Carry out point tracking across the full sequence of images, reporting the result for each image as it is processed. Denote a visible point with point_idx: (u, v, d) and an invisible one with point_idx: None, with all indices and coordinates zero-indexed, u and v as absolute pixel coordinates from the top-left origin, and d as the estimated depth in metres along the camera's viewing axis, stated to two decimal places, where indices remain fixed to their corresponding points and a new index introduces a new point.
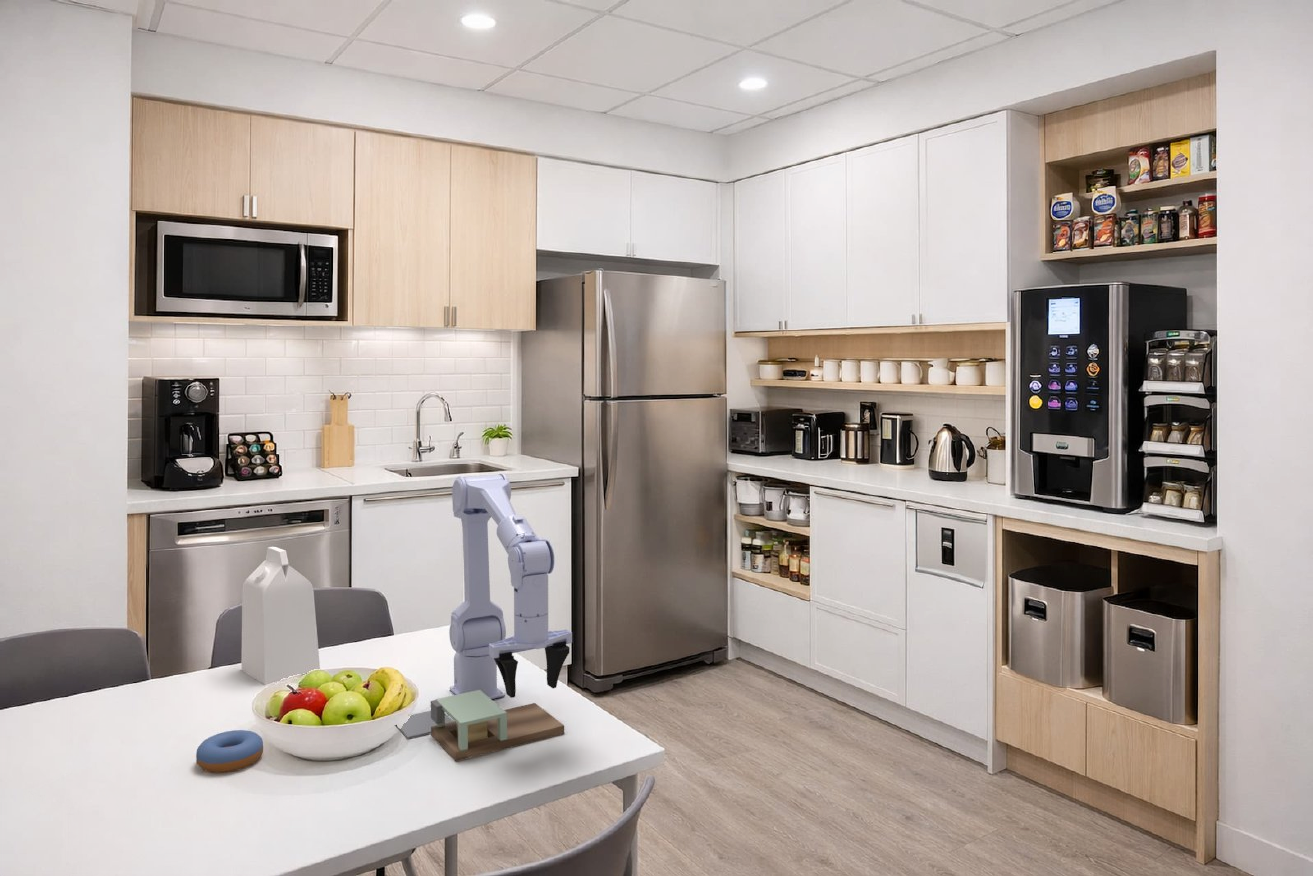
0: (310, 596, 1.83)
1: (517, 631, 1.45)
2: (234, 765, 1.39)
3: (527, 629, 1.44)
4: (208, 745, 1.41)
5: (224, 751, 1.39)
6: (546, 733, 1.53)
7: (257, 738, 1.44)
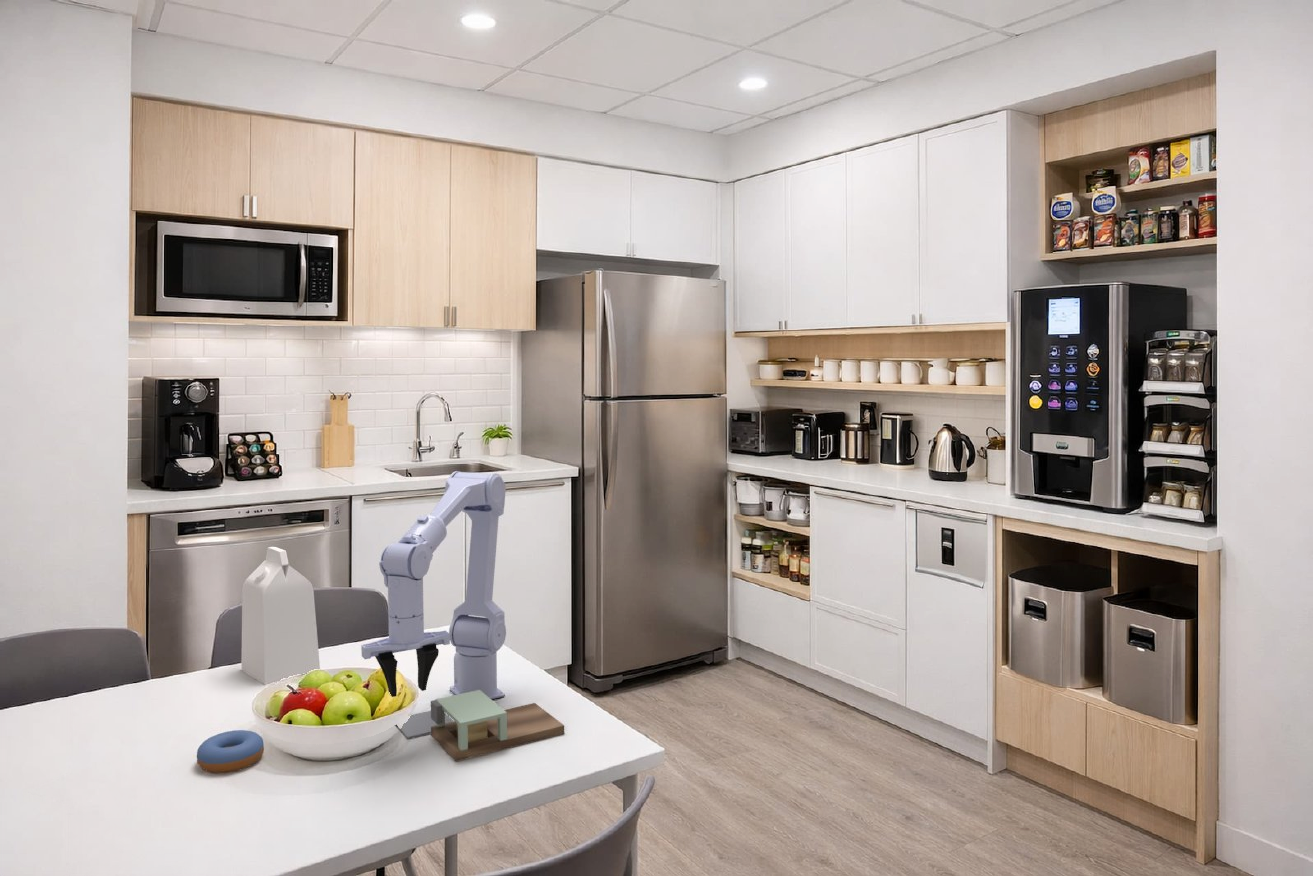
0: (310, 596, 1.83)
1: (390, 632, 1.46)
2: (235, 765, 1.39)
3: (400, 630, 1.45)
4: (209, 745, 1.41)
5: (225, 751, 1.39)
6: (546, 733, 1.53)
7: (258, 738, 1.44)
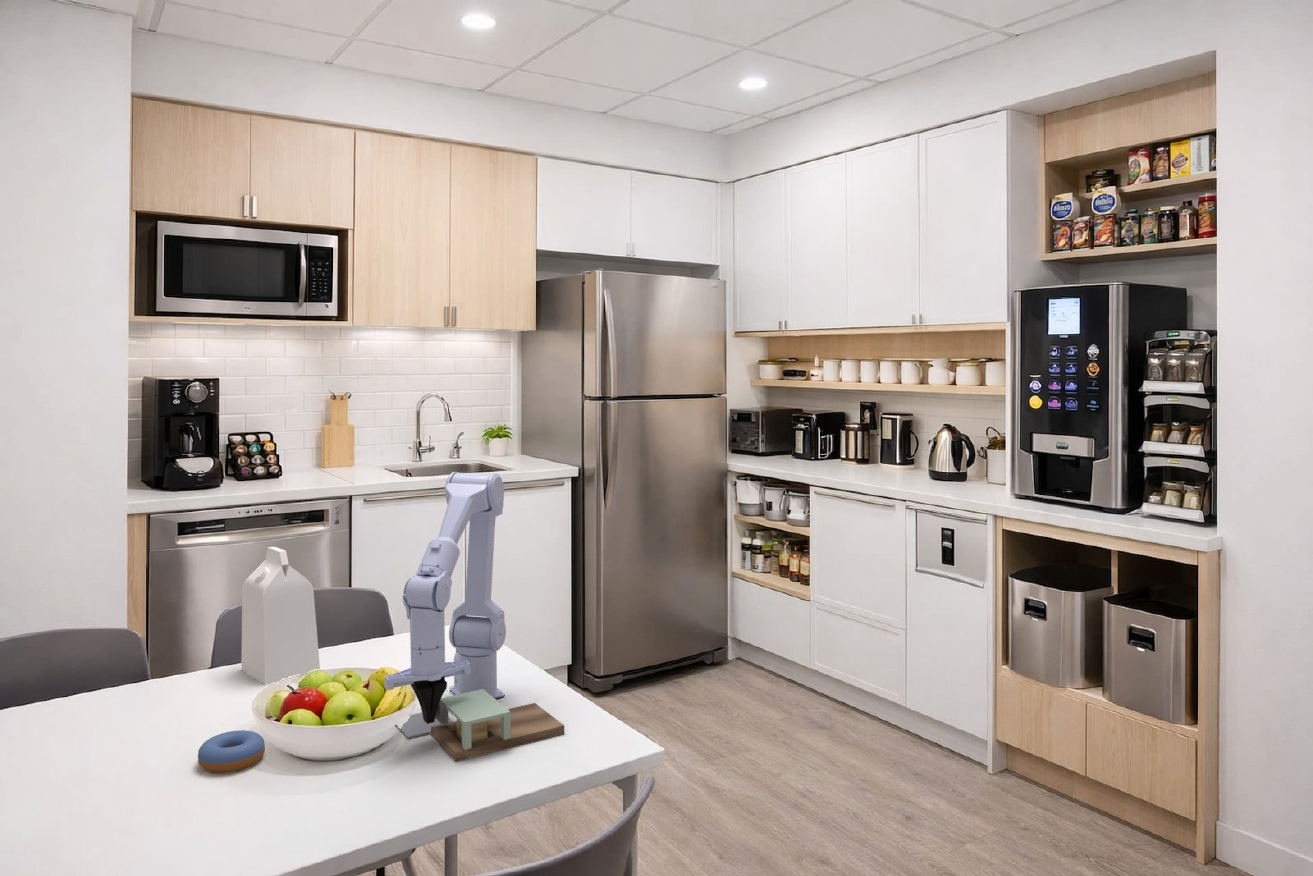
0: (310, 596, 1.83)
1: (413, 663, 1.49)
2: (236, 765, 1.39)
3: (422, 661, 1.48)
4: (210, 745, 1.41)
5: (226, 751, 1.39)
6: (546, 733, 1.53)
7: (259, 738, 1.44)
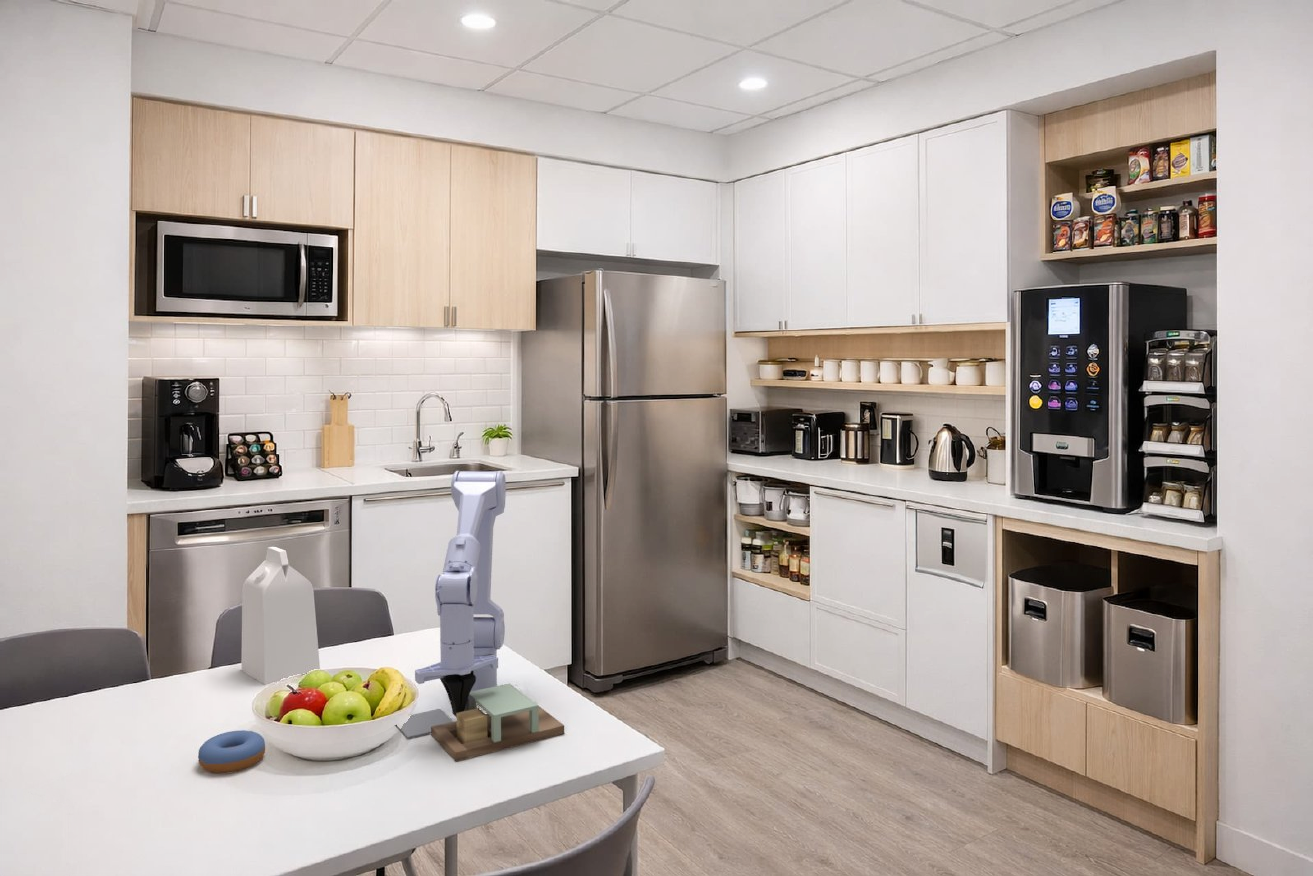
0: (310, 596, 1.83)
1: (443, 658, 1.52)
2: (236, 766, 1.39)
3: (452, 656, 1.51)
4: (210, 745, 1.41)
5: (226, 751, 1.39)
6: (546, 733, 1.53)
7: (259, 738, 1.44)
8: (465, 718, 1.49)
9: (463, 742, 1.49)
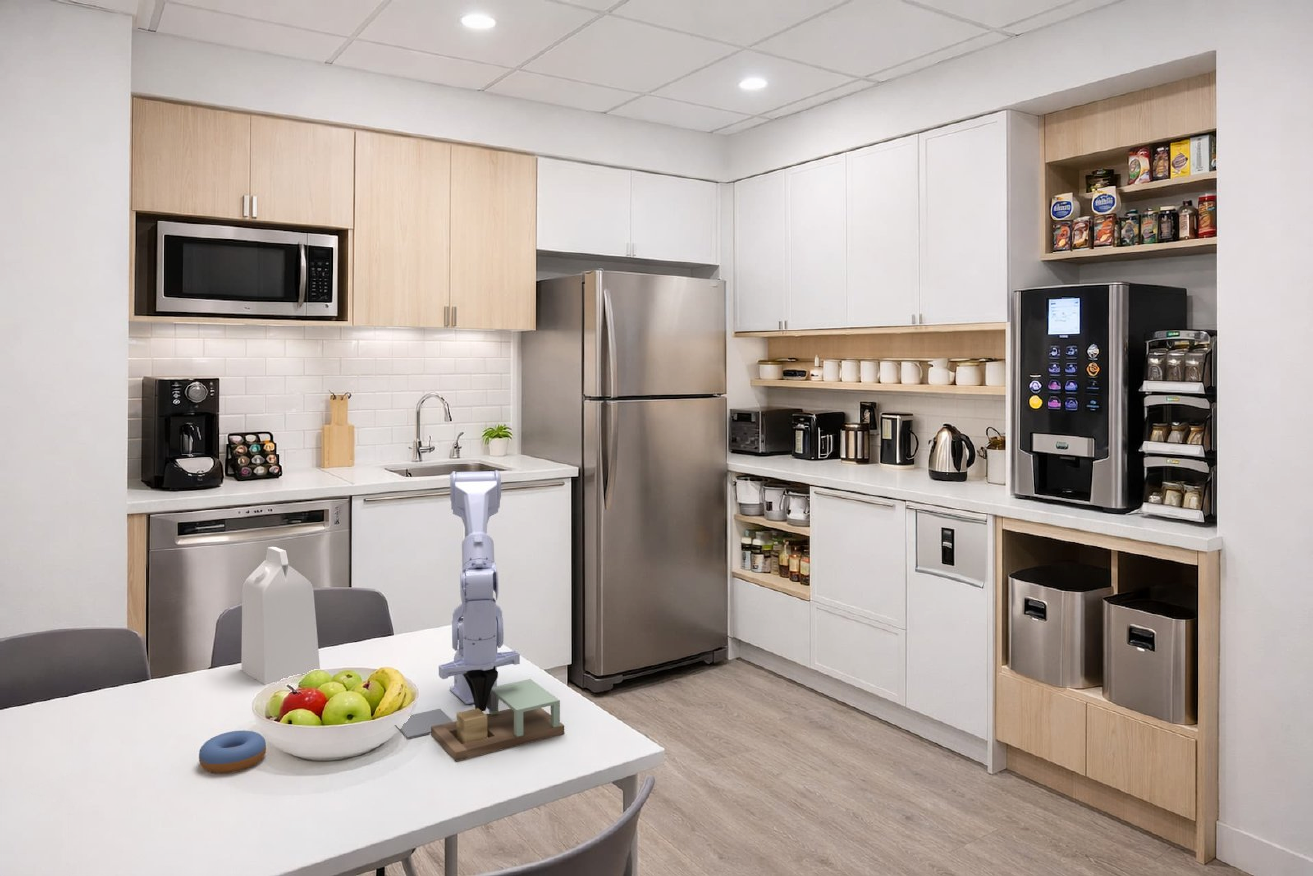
0: (310, 596, 1.83)
1: (466, 653, 1.54)
2: (237, 766, 1.39)
3: (475, 651, 1.53)
4: (211, 745, 1.41)
5: (227, 751, 1.39)
6: (546, 733, 1.53)
7: (260, 738, 1.44)
8: (465, 718, 1.49)
9: (463, 742, 1.49)
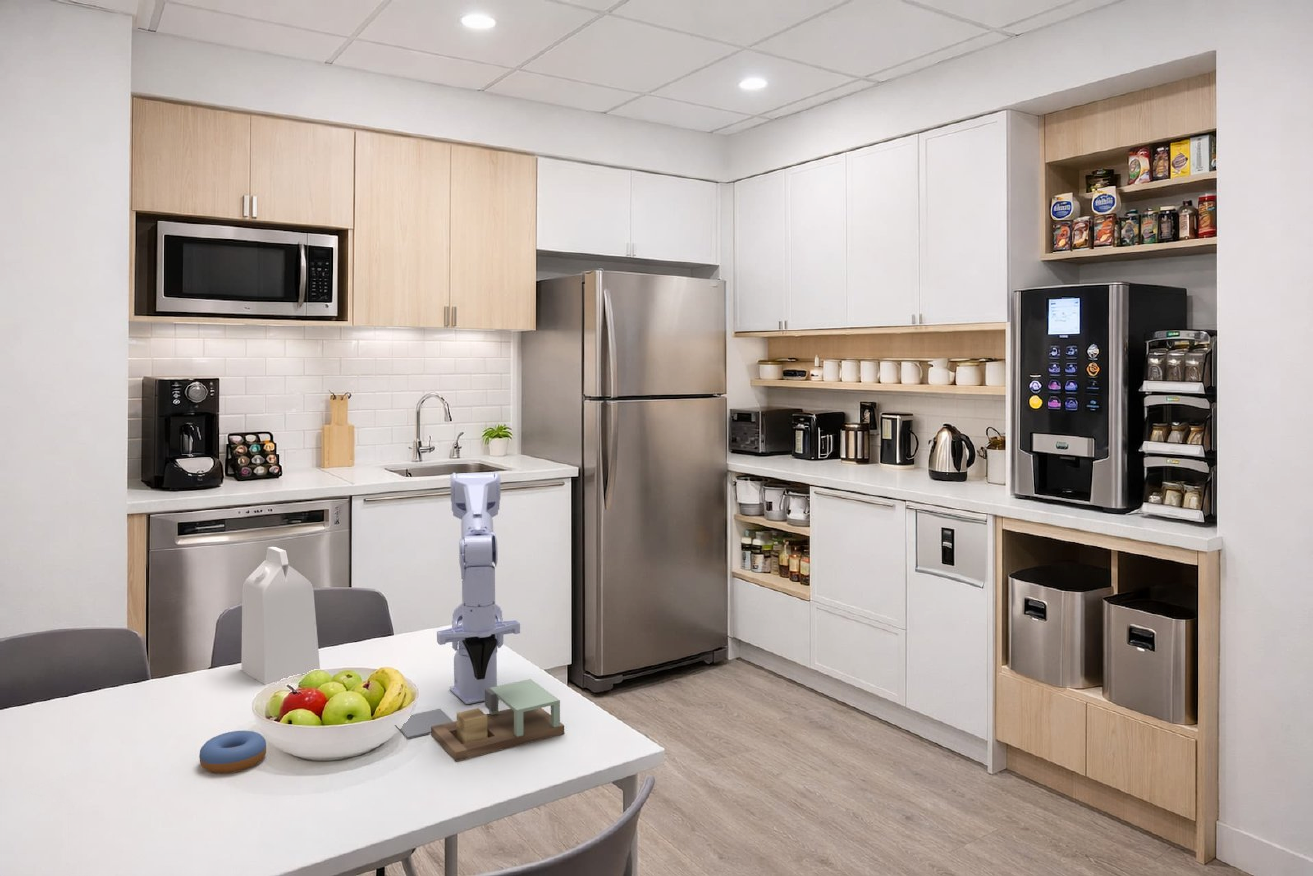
0: (310, 596, 1.83)
1: (464, 620, 1.53)
2: (238, 766, 1.39)
3: (473, 618, 1.52)
4: (211, 746, 1.41)
5: (227, 752, 1.39)
6: (546, 733, 1.53)
7: (260, 738, 1.44)
8: (465, 718, 1.49)
9: (463, 742, 1.49)
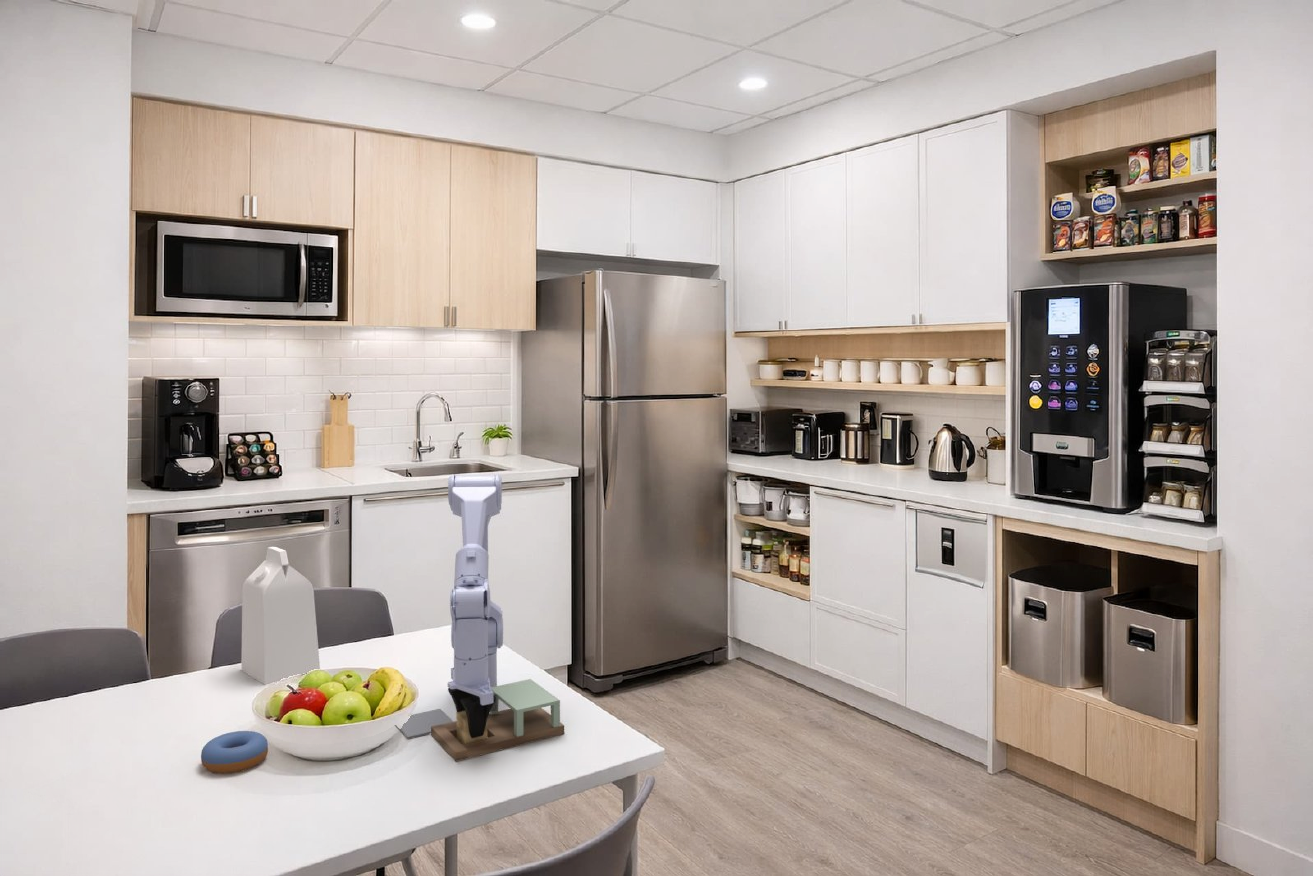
0: (310, 596, 1.83)
1: None
2: (239, 766, 1.39)
3: None
4: (213, 746, 1.41)
5: (229, 752, 1.39)
6: (546, 733, 1.53)
7: (262, 739, 1.44)
8: (465, 718, 1.49)
9: (463, 742, 1.49)
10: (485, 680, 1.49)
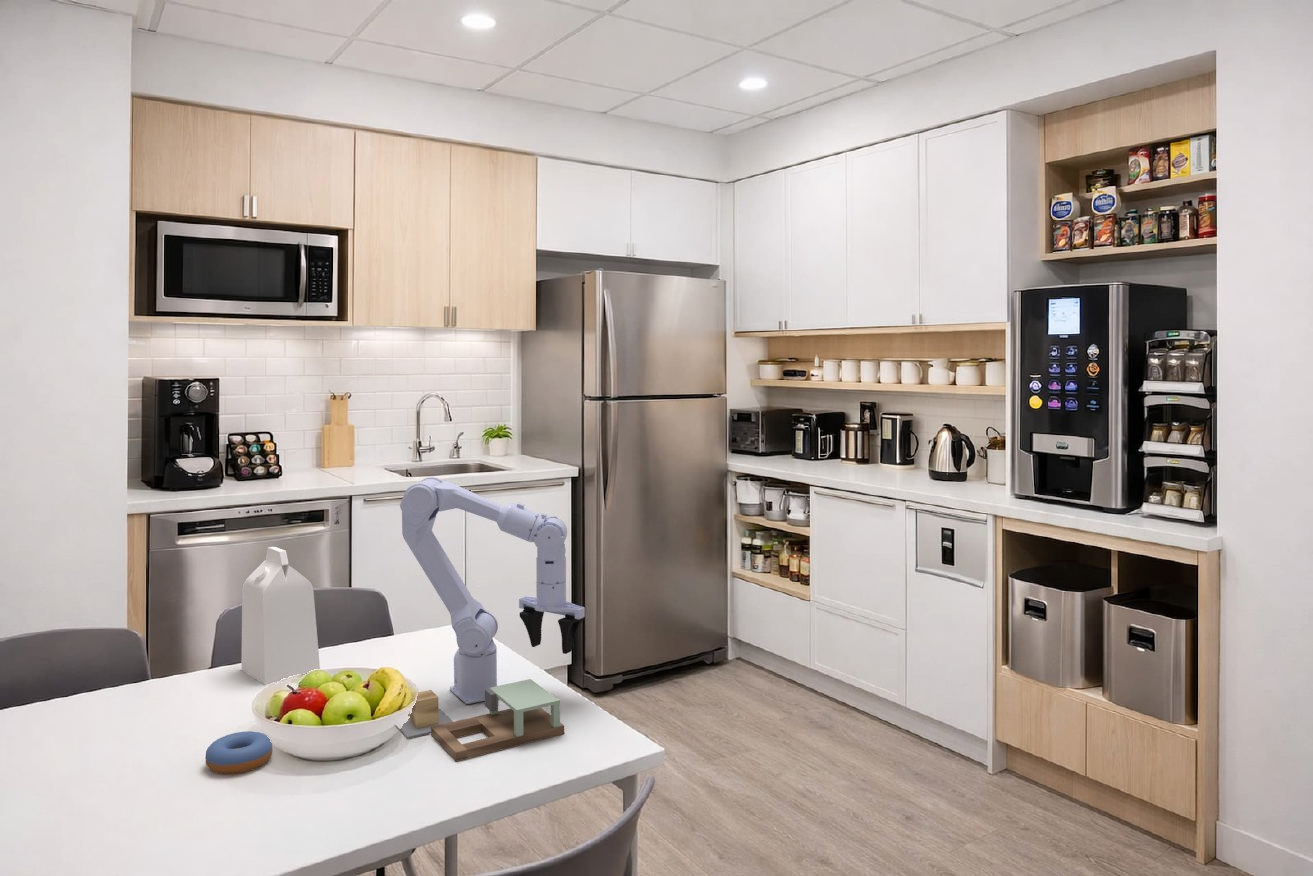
0: (310, 596, 1.83)
1: None
2: (244, 767, 1.39)
3: (537, 592, 1.69)
4: (217, 746, 1.41)
5: (233, 753, 1.39)
6: (546, 733, 1.53)
7: (266, 739, 1.44)
8: None
9: (415, 721, 1.56)
10: (565, 601, 1.71)
